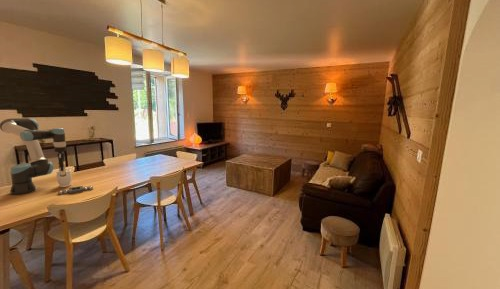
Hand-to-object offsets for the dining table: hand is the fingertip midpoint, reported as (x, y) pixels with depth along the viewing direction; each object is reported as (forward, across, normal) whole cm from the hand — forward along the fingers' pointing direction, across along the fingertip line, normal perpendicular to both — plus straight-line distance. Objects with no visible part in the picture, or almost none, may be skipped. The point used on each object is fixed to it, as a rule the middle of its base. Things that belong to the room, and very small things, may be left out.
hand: (63, 173), depth 181 cm
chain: (+18, -2, +7) cm, 19 cm away
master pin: (+2, 0, 0) cm, 2 cm away
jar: (+17, -22, -2) cm, 28 cm away
